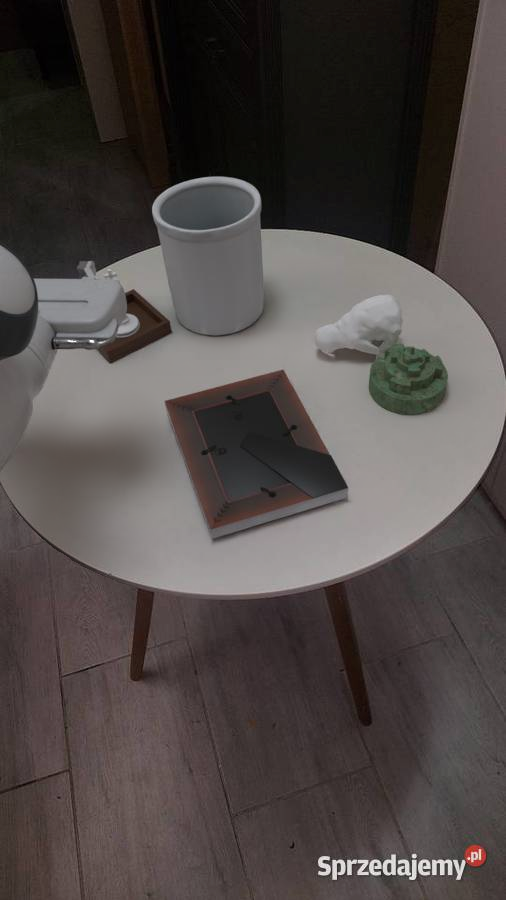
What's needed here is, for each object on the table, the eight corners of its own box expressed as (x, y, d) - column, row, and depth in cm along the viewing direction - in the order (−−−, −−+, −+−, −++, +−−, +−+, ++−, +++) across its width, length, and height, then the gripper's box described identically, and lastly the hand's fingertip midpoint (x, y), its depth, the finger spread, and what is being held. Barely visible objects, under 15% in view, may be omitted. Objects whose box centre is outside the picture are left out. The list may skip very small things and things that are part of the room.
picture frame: (347, 499, 80) (283, 381, 93) (348, 486, 78) (283, 368, 92) (212, 541, 77) (167, 413, 91) (209, 528, 75) (164, 399, 89)
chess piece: (106, 319, 104) (91, 262, 96) (138, 314, 104) (126, 257, 97) (107, 340, 100) (92, 282, 93) (141, 334, 101) (128, 277, 93)
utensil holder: (151, 308, 106) (130, 204, 93) (224, 268, 112) (213, 164, 99) (212, 352, 98) (198, 245, 85) (286, 306, 104) (284, 199, 91)
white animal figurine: (406, 310, 88) (314, 325, 89) (405, 360, 95) (319, 373, 95) (396, 282, 92) (308, 296, 93) (396, 331, 99) (313, 343, 100)
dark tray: (110, 363, 98) (107, 352, 96) (76, 327, 104) (72, 316, 102) (172, 332, 102) (170, 321, 100) (136, 299, 108) (133, 288, 106)
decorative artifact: (420, 355, 96) (355, 374, 94) (427, 314, 90) (359, 334, 88) (459, 401, 89) (390, 423, 87) (469, 360, 84) (396, 383, 82)
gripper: (105, 322, 65) (133, 241, 74) (-101, 319, 66) (-49, 240, 75) (118, 372, 69) (143, 290, 78) (-75, 367, 71) (-29, 288, 80)
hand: (47, 265), depth 77 cm, fingers open, 8 cm apart
